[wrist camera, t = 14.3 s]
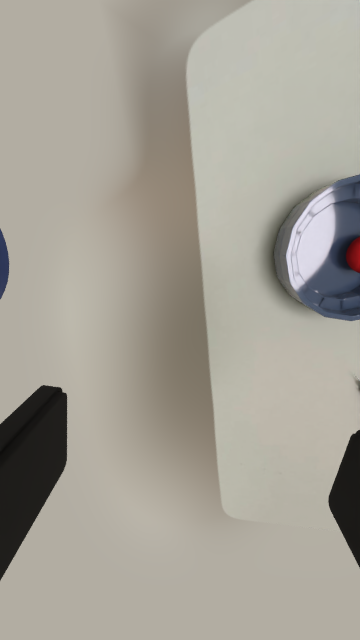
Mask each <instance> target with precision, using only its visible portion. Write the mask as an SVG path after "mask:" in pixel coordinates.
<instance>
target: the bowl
mask: <svg viewBox="0 0 360 640" xmlns="http://www.w3.org/2000/svg"><path fill="white" fill-rule="evenodd" d="M358 237H360V175H356V176H353V177H349V178H345V179H342V180H338V181H336V182H334V183H332V184H330V185H328V186H325V187H323V188H321V189H319V190H317V191H315V192H314V193H313V194H311V195H310V196H309V197H307V198H306V199H304V200H303V201H302V202H300V203H299V204H298V205H296V206H295V207H294V208H293V210H292V211H291V213H290V214H289V216H288V217H287V219H286V220H285V222H284V223H283V225H282V226H281V228H280V230H279V233H278V238H277V242H276V246H275V250H274V260H275V266H276V272H277V277H278V279H279V280H280V282H281V283H282V285H283V286H284V288H285V289H286V291H287V292H288V294H289V295H290V296H291V297H293V298H295V299H296V300H298V301H299V302H301V303H303V304H304V305H306V306H307V307H309V308H311V309H312V310H314V311H316V312H317V313H319V314H321V315H322V316H324V317H328V318H334V319H341V320H347V321H354V320H359V319H360V273H358V272H356V271H354V270H353V269H351V268H350V266H349V265H348V263H347V260H346V253H347V249H348V247H349V246H350V244H351V243H352V242H353V241H354V240H355V239H357V238H358Z"/></svg>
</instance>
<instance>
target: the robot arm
mask: <svg viewBox="0 0 360 640" xmlns="http://www.w3.org/2000/svg"><path fill="white" fill-rule="evenodd" d="M66 461H67V394H66V393H63V392H62V389H61V388H60V387H53V386H45V385H43V386H41V387H40V388H39V389H37V390H36V391H35V392H34V393H33V394H32V395H31V396H30V397H29V398H28V399H27V400H26V401H25V402H24V403H23V404H21V405H20V406H19V407H18V408H17V409H16V410H15V411H14V412H13V413H12V414H11V415H10V416H9V417H8V418H6V419H5V420H4V421H3V422H2V423H1V424H0V580H1V578H2V577H3V575H4V573H5V571H6V570H7V568H8V566H9V564H10V563H11V561H12V559H13V557H14V556H15V554H16V552H17V550H18V549H19V547H20V545H21V544H22V542H23V540H24V538H25V537H26V535H27V533H28V531H29V530H30V528H31V526H32V524H33V523H34V521H35V519H36V517H37V516H38V514H39V512H40V510H41V509H42V507H43V505H44V504H45V502H46V500H47V498H48V497H49V495H50V493H51V491H52V490H53V488H54V486H55V484H56V483H57V481H58V479H59V477H60V476H61V474H62V472H63V470H64V467H65V465H66ZM329 507H330V510H331V512H332V514H333V516H334V518H335V520H336V522H337V524H338V526H339V528H340V530H341V532H342V534H343V536H344V538H345V539H346V542H347V544H348V546H349V548H350V549H351V551H352V553H353V555H354V557H355V559H356V561H357V563H358V565H359V567H360V430H358V431H357V432H356V434H353V435H352V436H351V438H350V440H349V443H348V446H347V448H346V451H345V454H344V457H343V459H342V462H341V465H340V467H339V470H338V473H337V476H336V478H335V481H334V484H333V486H332V489H331V492H330V495H329Z"/></svg>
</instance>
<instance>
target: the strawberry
mask: <svg viewBox="0 0 360 640" xmlns="http://www.w3.org/2000/svg"><path fill="white" fill-rule="evenodd" d="M346 260H347V263H348V265H349V266H350V268H351V269H353V270H354V271H356V272H358V273H360V237H358V238H357V239H355V240H354V241H353V242H352V243H351V244H350V246H349V247H348V249H347V253H346Z"/></svg>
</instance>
